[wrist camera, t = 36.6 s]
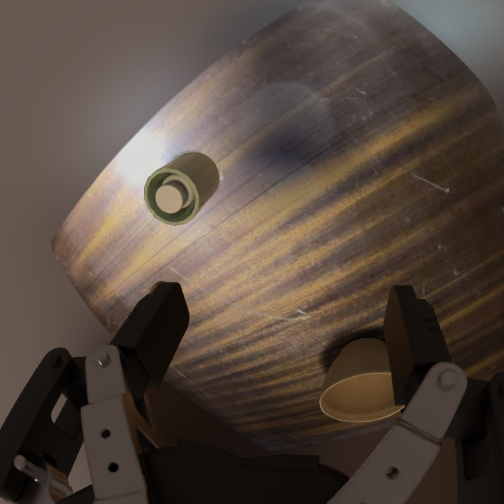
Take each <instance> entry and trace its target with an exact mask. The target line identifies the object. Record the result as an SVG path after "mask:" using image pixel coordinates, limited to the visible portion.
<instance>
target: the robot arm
mask: <svg viewBox="0 0 504 504" xmlns="http://www.w3.org/2000/svg"><path fill="white" fill-rule="evenodd" d="M188 325H189V310H188V307H187V304H186V301H185V298H184V295H183V291H182V288H181V285H180V284H179V283H177V282H159V283H158V285H157V286H156V288H155V289H154V290H153V292H152V293H149V294H147V295H146V296H145V297H144V298H142V299H141V300H140V301H139V302H138V303H137V305H136V306H135V308H134V309H133V312H131V313H130V315H129V316H128V319H126V321H125V322H124V324H123V325H122V327H121V328H120V329H119V331H118V332H117V334H116V335H115V337H114V338H113V340H112V341H111V343H110V344H105V345H101V346H98V347H96V348H94V349H93V350H92V351H91V352H90V353H89V354H88V356H87V357H72V356H71V355H70V353H69V352H68V350H66V349H65V348H55V349H53V350H51V351H50V352H49V353H47V354H46V355H45V357H44V358H43V360H42V361H41V363H40V364H39V366H38V367H37V369H36V370H35V372H34V373H33V375H32V376H31V378H30V380H29V381H28V383H27V384H26V386H25V388H24V389H23V391H22V393H21V394H20V396H19V397H18V399H17V401H16V402H15V404H14V406H13V408H12V409H11V411H10V413H9V415H8V416H7V418H6V420H5V422H4V423H3V425H2V427H1V429H0V497H1V498H3V499H4V500H6V501H7V502H9V503H11V504H404V503H405V502H406V501H407V499H408V498H409V497H410V495H411V494H412V493H413V491H414V490H415V488H416V487H417V485H418V484H419V482H420V481H421V479H422V478H423V476H424V475H425V473H426V472H427V470H428V469H429V467H430V465H431V464H432V462H433V460H434V459H435V457H436V455H437V454H438V452H439V450H440V448H441V445H442V443H441V440H442V438H443V437H446V438H452V439H455V448H456V461H457V462H456V464H457V504H504V372H499V373H497V374H495V375H494V376H493V377H492V379H491V380H490V381H482V380H476V379H471V378H468V377H466V375H465V373H464V371H463V370H462V369H461V368H460V367H459V366H457V365H456V364H453V363H452V361H451V358H450V354H449V351H448V348H447V345H446V342H445V339H444V336H443V334H442V331H441V330H440V325H439V323H438V321H437V317H436V315H435V312H434V309H433V308H432V306H431V305H430V304H429V303H428V302H427V301H426V300H425V299H417V297H416V295H415V292H414V289H413V287H412V286H411V285H399V286H392V287H391V289H390V294H389V299H388V303H387V308H386V313H385V317H384V335H385V341H386V346H387V352H388V358H389V365H390V371H391V378H392V386H393V394H394V402H395V406H401V405H404V406H405V410H404V412H403V413H402V415H401V416H400V418H399V419H398V420H397V421H396V422H395V424H394V425H393V426H392V428H391V429H390V431H389V432H388V433H387V435H386V436H385V437H384V439H383V440H382V441H381V443H380V444H379V445H378V446H377V448H376V449H375V450H374V452H373V453H372V454H371V455H370V456H369V458H368V459H367V460H366V461H365V462H364V464H363V465H362V466H361V467H360V468H359V469H358V471H357V472H356V473H355V474H354V475H353V476H352V477H351V478H349V477H348V476H347V475H345V474H344V473H343V472H341V471H339V470H337V469H335V468H333V467H330V466H328V465H324V464H321V463H319V456H317V455H316V456H315V455H314V456H313V455H291V454H280V455H272V456H263V457H255V458H242V457H239V456H236V455H234V454H231V453H229V452H227V451H224V450H222V449H219V448H217V447H215V446H213V445H210V444H205V443H200V442H195V441H190V440H186V439H181V438H179V439H178V442H177V445H175V446H165V444H164V442H163V440H162V439H161V437H160V435H159V433H158V430H157V427H156V424H155V421H154V418H153V415H152V412H151V408H150V405H149V402H148V398H147V396H146V394H145V391H146V389H147V386H148V387H152V388H157V389H158V388H159V386H160V384H161V382H162V380H163V378H164V376H165V373H166V371H167V369H168V367H169V365H170V363H171V361H172V359H173V356H174V354H175V352H176V350H177V348H178V346H179V344H180V342H181V340H182V338H183V336H184V334H185V331H186V329H187V327H188ZM61 394H63V395H64V396H65V397H66V398H67V401H66V402H65V404H64V406H63V408H62V410H61V412H60V414H59V416H58V418H57V419H56V421H55V423H53V421H52V419H51V412H52V410H53V408H54V406H55V404H56V402H57V401H58V399H59V397H60V395H61ZM83 441H84V442H85V449H86V455H87V460H88V466H89V471H90V476H91V481H92V484H91V485H89V486H87V487H85V488H83V489H81V490H79V491H77V492H75V493H73V490H72V488H71V487H70V486H69V484H68V476H69V474H70V472H71V469H72V467H73V464H74V462H75V460H76V457H77V455H78V453H79V450H80V448H81V446H82V444H83ZM72 493H73V494H72Z"/></svg>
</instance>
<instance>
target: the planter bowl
mask: <svg viewBox="0 0 504 504" xmlns="http://www.w3.org/2000/svg"><path fill="white" fill-rule="evenodd" d="M320 407H321V409H322V411H323V412H324V413H325V414H327V415H328V416H330V417H332V418H334V419H337V420H340V421H345V422H368V421H374V420H379V419H382V418H385V417H388V416H390V415H392V414H394V413H396V412H398V411H400V410H401V409H402V408H404V407H405V406H404V405H401V406H395V402H394V394H393V386H392V378H391V371H390V365H389V358H388V352H387V346H386V344H385V343H384V342H383V341H381V340H379V339H375V338H361V339H357V340H354V341H352V342H350V343H348V344H347V345H346V346H345V347H344V348H343V349H342V350H341V352H340V355H339V356H338V357H337V358H336V359H335V361H334V362H333V363H332V365H331V366H330V368H329V370H328V372H327V374H326V377H325V380H324V383H323V388H322V393H321V396H320Z"/></svg>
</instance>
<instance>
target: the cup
mask: <svg viewBox="0 0 504 504" xmlns="http://www.w3.org/2000/svg"><path fill="white" fill-rule="evenodd" d="M172 173H176V174H178V175H180V176H181V177H183V178H185V179H186V180H187V182H188V183H189V184H190V185H191V187H192V189H193V192H194V195H195V200H194V201H193V202H192V203H191V204H190V205H189V206H187V207H185V208H181V209H180V210H179V211H177V212H175V213H167V212H164V211H163V210H161V209H160V208H159V206H158V205H157V203H156V198H155V196H156V192H157V190H158V189H159V188H160V187H161V186H162V183H163V181H164V180H165V178H167V177H168V176H169V175H170V174H172ZM218 184H219V173H218V169H217V167H216V165H215V164H214V162H213V161H212V160H211V159H210V158H209V157H207V156H205V155H203V154H201V153H196V152H191V153H186V154H184V155H181V156H180V157H178V158H176V159H175V160H173V161H171V162H170V163H168V164H166V165H165V166H163V167H161V168H160V169H158V170H157V171H155V172H154V173H153V174H152V175H151V176H150V177H149V178H148V179H147V182H146V184H145V187H144V199H145V202H146V204H147V207H148V209H149V211H150V212H151V213H152V214H153V215H154V217H156V218H157V219H158V220H160V221H162V222H163V223H165V224H170V225H174V226H176V225H182V224H186V223H187V222H189V221H190V220H191V219H193V218H194V217H195V215H196V214H197V213H198V212H199V211H200V210H201V208H202V207H203V206H204V205H205V204H206V202H207V201H208V200H209V199H210V198H211V197H212V195H213V194H214V192H215V191H216V189H217V187H218Z"/></svg>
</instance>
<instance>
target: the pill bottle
mask: <svg viewBox="0 0 504 504" xmlns="http://www.w3.org/2000/svg"><path fill="white" fill-rule="evenodd" d="M155 198H156V203H157V205H158V206H159V208H160V209H161V210H163V211H164V212H167V213H175V212H177V211H179V210H180V209H181V208H185V207H187V206H189V205H190V204H191V203H192V202H193V201H194V200H195V195H194V192H193V189H192V187H191V185H190V184H189V183H188V182H187V180H186V179H185V178H183V177H181V176H180V175H178V174H176V173H172V174H170V175H169V176H168V177H167V178H165V180H164V181H163V183H162V186H161V187H160V188H159V189H158V190H157V192H156V196H155Z"/></svg>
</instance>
